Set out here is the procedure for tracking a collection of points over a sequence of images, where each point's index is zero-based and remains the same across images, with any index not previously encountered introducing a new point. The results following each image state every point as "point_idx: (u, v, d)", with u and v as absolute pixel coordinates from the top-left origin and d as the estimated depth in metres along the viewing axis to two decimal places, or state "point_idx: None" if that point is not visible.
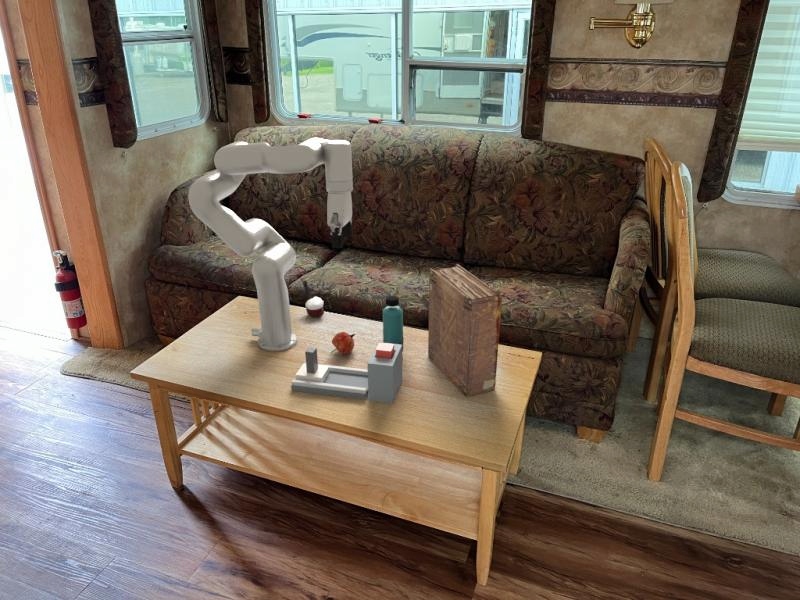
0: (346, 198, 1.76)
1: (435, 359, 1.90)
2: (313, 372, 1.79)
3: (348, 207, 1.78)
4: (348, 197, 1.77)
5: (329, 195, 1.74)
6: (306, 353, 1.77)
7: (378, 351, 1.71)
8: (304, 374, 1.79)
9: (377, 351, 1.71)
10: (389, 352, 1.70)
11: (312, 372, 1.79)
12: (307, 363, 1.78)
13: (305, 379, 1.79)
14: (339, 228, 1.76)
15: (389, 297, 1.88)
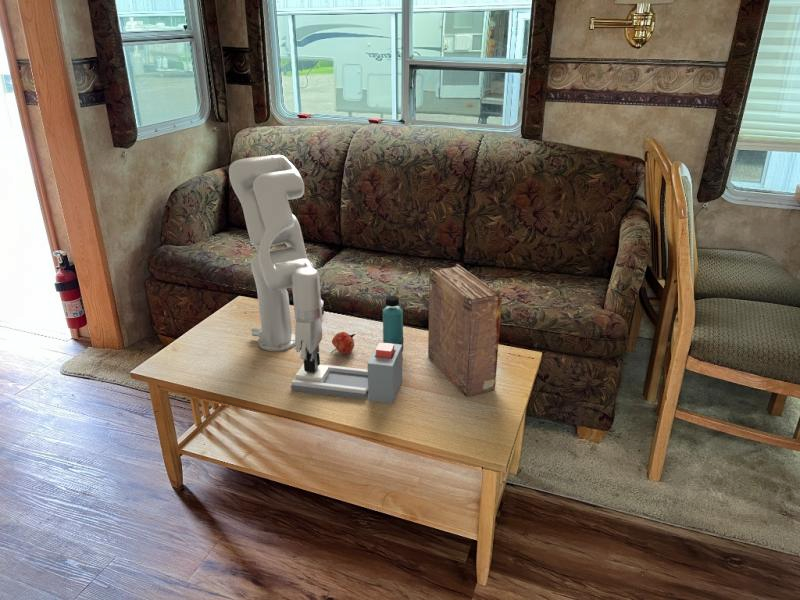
0: (314, 325, 1.72)
1: (435, 359, 1.90)
2: (313, 372, 1.79)
3: (317, 332, 1.75)
4: (317, 323, 1.74)
5: (297, 324, 1.70)
6: None
7: (378, 351, 1.71)
8: (304, 374, 1.79)
9: (377, 351, 1.71)
10: (389, 352, 1.70)
11: (312, 372, 1.79)
12: None
13: (305, 379, 1.79)
14: (310, 355, 1.75)
15: (389, 297, 1.88)
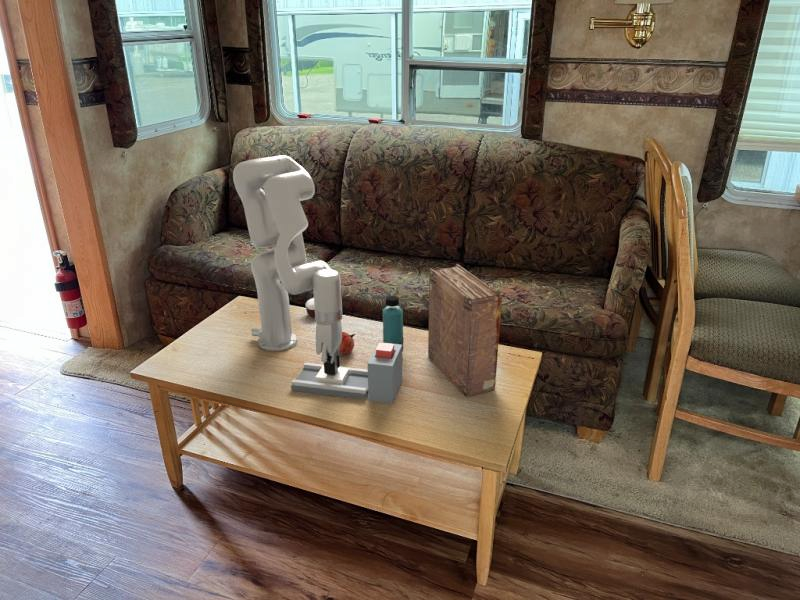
0: (335, 327, 1.71)
1: (435, 359, 1.90)
2: None
3: (337, 334, 1.74)
4: (337, 325, 1.72)
5: (318, 326, 1.69)
6: None
7: (378, 351, 1.71)
8: (323, 376, 1.78)
9: (377, 351, 1.71)
10: (389, 352, 1.70)
11: None
12: None
13: (325, 381, 1.78)
14: (331, 358, 1.74)
15: (389, 297, 1.88)
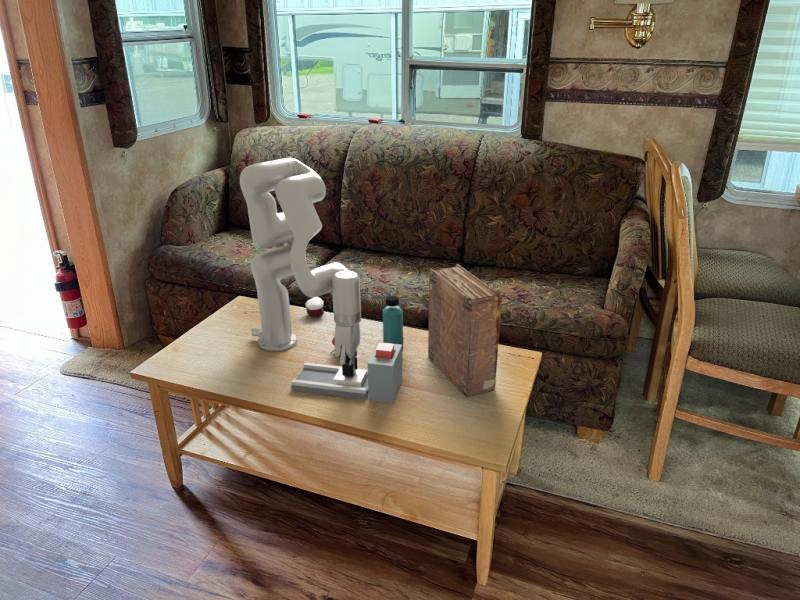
0: (354, 329, 1.70)
1: (435, 359, 1.90)
2: None
3: (356, 336, 1.73)
4: (356, 327, 1.71)
5: (337, 328, 1.68)
6: None
7: (378, 351, 1.71)
8: (342, 379, 1.77)
9: (377, 351, 1.71)
10: (389, 352, 1.70)
11: None
12: None
13: (343, 384, 1.77)
14: (349, 360, 1.73)
15: (389, 297, 1.88)
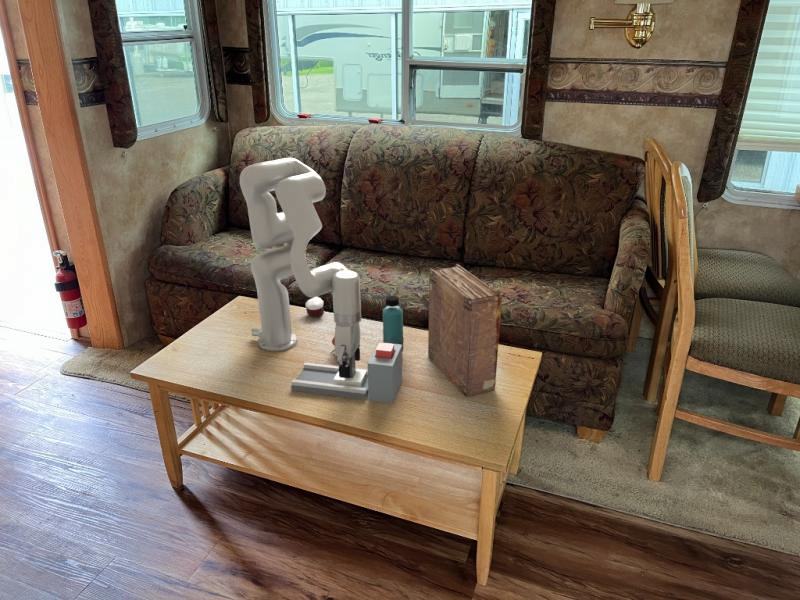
0: (354, 329, 1.70)
1: (435, 359, 1.90)
2: (351, 376, 1.77)
3: (356, 336, 1.73)
4: (356, 327, 1.71)
5: (337, 328, 1.68)
6: None
7: (378, 351, 1.71)
8: (342, 379, 1.77)
9: (377, 351, 1.71)
10: (389, 352, 1.70)
11: None
12: None
13: (343, 384, 1.77)
14: (347, 359, 1.71)
15: (389, 297, 1.88)
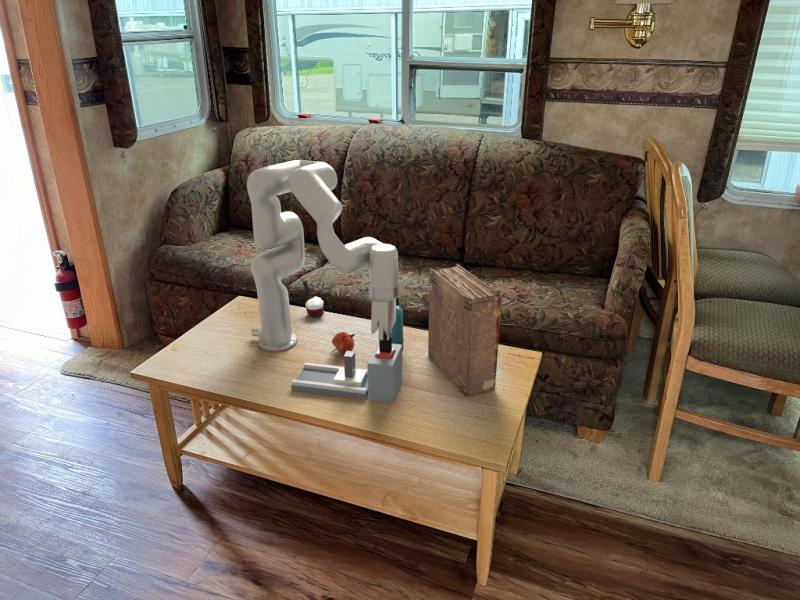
0: (391, 305, 1.64)
1: (435, 359, 1.90)
2: (351, 376, 1.77)
3: (393, 313, 1.67)
4: (393, 303, 1.66)
5: (374, 303, 1.62)
6: (345, 357, 1.75)
7: (378, 355, 1.71)
8: (342, 379, 1.77)
9: (377, 355, 1.71)
10: (389, 356, 1.71)
11: (350, 376, 1.77)
12: (345, 367, 1.76)
13: (343, 384, 1.77)
14: (387, 336, 1.68)
15: None
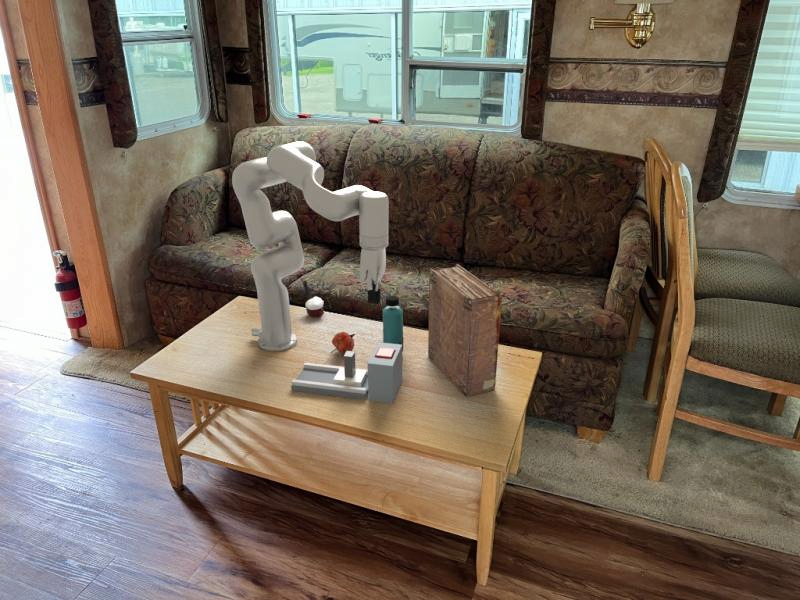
0: (381, 254, 1.62)
1: (435, 359, 1.90)
2: (351, 376, 1.77)
3: (382, 263, 1.65)
4: (383, 252, 1.63)
5: (363, 252, 1.60)
6: (345, 357, 1.75)
7: (378, 356, 1.71)
8: (342, 379, 1.77)
9: (377, 356, 1.72)
10: (389, 357, 1.71)
11: (350, 376, 1.77)
12: (345, 367, 1.76)
13: (343, 384, 1.77)
14: (376, 286, 1.66)
15: (389, 297, 1.88)
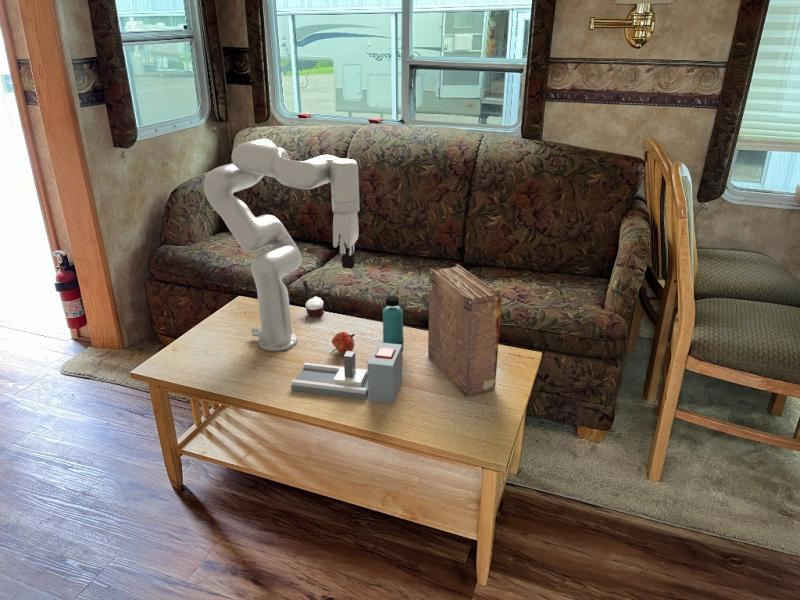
0: (352, 219, 1.70)
1: (435, 359, 1.90)
2: (351, 376, 1.77)
3: (354, 228, 1.72)
4: (354, 218, 1.71)
5: (335, 216, 1.67)
6: (345, 357, 1.75)
7: (378, 356, 1.71)
8: (342, 379, 1.77)
9: (377, 356, 1.72)
10: (389, 357, 1.71)
11: (350, 376, 1.77)
12: (345, 367, 1.76)
13: (343, 384, 1.77)
14: (349, 251, 1.73)
15: (389, 297, 1.88)
